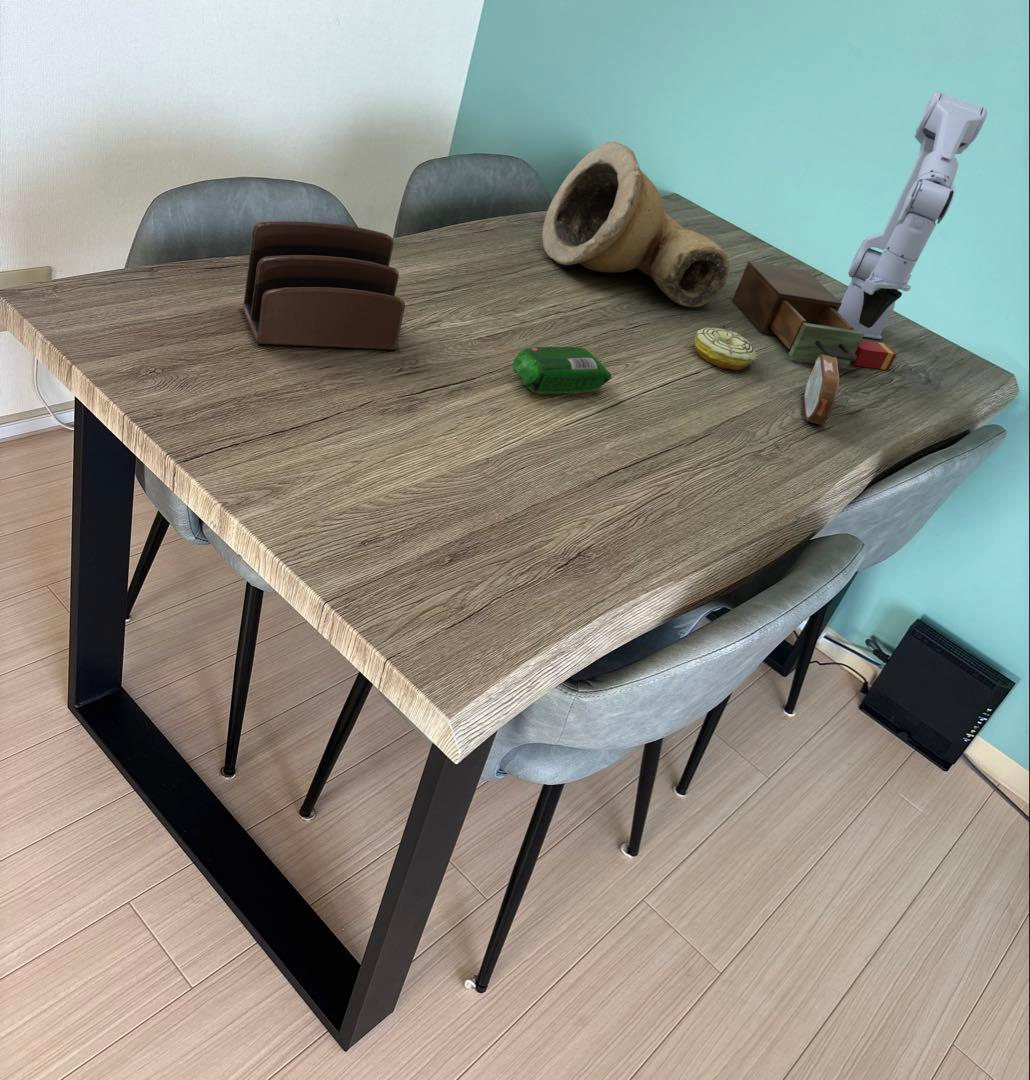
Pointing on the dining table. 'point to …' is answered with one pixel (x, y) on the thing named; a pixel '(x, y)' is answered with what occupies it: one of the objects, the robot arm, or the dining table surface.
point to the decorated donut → (724, 348)
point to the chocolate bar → (874, 355)
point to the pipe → (629, 229)
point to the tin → (821, 389)
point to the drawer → (815, 331)
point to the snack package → (560, 370)
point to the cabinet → (777, 292)
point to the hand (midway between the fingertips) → (865, 325)
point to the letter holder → (322, 286)
